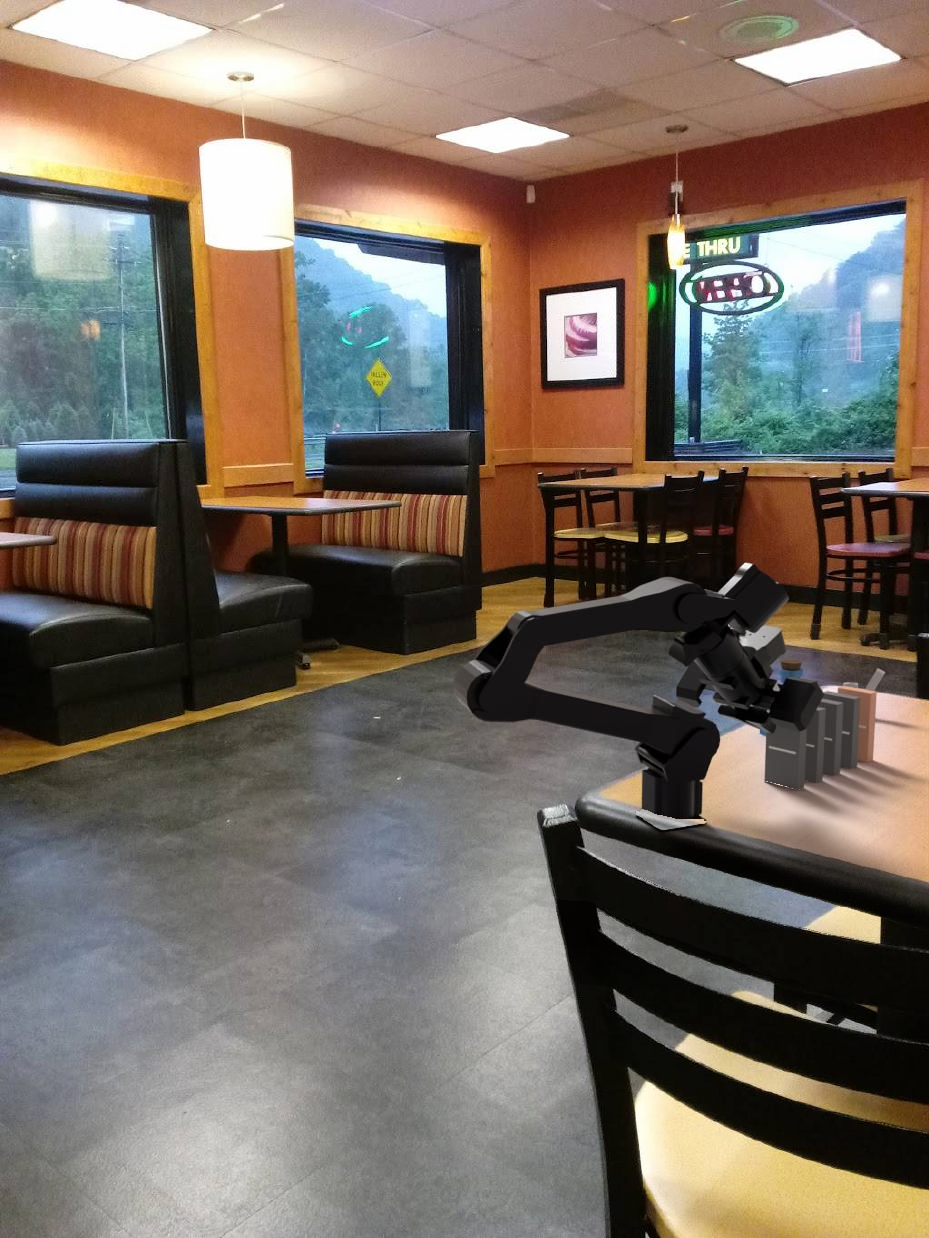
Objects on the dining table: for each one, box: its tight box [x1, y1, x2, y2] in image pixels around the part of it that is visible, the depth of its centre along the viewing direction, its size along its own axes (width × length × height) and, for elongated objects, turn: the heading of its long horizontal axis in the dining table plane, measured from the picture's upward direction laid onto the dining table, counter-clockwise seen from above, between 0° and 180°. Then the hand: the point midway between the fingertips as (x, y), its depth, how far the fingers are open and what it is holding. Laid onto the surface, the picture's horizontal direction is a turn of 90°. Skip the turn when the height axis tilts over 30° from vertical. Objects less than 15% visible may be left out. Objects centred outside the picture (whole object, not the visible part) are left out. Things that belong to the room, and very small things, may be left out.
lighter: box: [836, 668, 886, 693], centre depth 175 cm, size 7×2×8 cm, turn 63°
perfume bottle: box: [759, 658, 804, 737], centre depth 163 cm, size 6×6×12 cm
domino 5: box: [837, 685, 878, 763], centre depth 152 cm, size 2×5×10 cm, turn 41°
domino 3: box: [818, 699, 843, 777], centre depth 146 cm, size 2×5×10 cm, turn 41°
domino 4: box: [822, 690, 860, 770], centre depth 149 cm, size 2×5×10 cm, turn 41°
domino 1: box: [763, 725, 807, 791], centre depth 141 cm, size 2×5×10 cm, turn 41°
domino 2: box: [805, 707, 826, 784], centre depth 143 cm, size 2×5×10 cm, turn 41°
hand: (772, 730), depth 137 cm, fingers closed
